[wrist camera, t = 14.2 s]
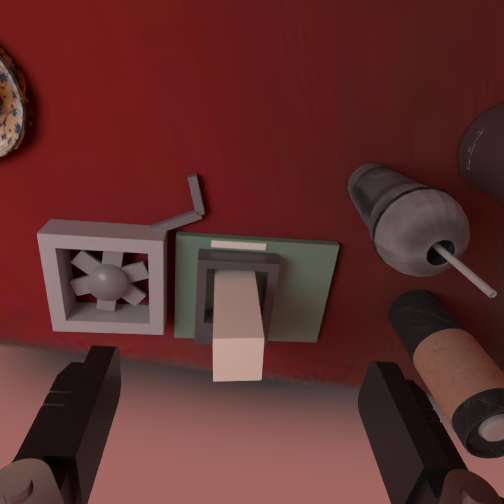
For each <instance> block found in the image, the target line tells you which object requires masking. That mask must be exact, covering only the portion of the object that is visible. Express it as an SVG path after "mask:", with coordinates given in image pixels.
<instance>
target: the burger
mask: <svg viewBox="0 0 504 504" xmlns="http://www.w3.org/2000/svg"><path fill="white" fill-rule="evenodd" d="M25 90H26V82H25V78H24V75H23V74H22V72H21V71H20V69H18V68H17V66H16V63H15V61H14V60H13V59H11V58H10V57H8V56H7V55H6V53H4V51H3V50H2V48H0V157H3V156H6V155H8V153H9V152H11V151H12V150H14V149H17V148H18V147H19V145H20V144H21V143H22V140H23V137H24V135H25V132H26V130H27V129H28V128H29V127H30V126H31V125H32V124H33V123H31V122H29V121H28V120H29V119H30V117H31V116H32V115H34V113H32V109H31V107H30V104H29V103H28V102H31V101H29V100H28V99H27V98H26V96H25Z"/></svg>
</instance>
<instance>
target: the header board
mask: <svg viewBox="0 0 504 504" xmlns="http://www.w3.org/2000/svg"><path fill="white" fill-rule="evenodd" d="M338 250H339V244H338V242H334V241H318V240H302V239H287V238H271V237H256V236H240V235H225V234H209V233H194V232H178V231H177V233H176V260H175V327H174V338H194V344H211V345H213V315H214V280H215V269H224V270H242V271H255V277H256V284H257V291H258V298H259V305H260V312H261V318H262V325H263V332H264V346H267V342H268V341H288V342H317V339H318V335H319V330H320V326H321V322H322V318H323V313H324V309H325V305H326V301H327V296H328V292H329V288H330V284H331V279H332V275H333V271H334V267H335V262H336V258H337V254H338Z"/></svg>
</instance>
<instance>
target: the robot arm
mask: <svg viewBox="0 0 504 504" xmlns="http://www.w3.org/2000/svg"><path fill="white" fill-rule="evenodd" d="M458 166H459V171H460V173H461V175H462V177H463V179H464V180H465V181H466V182H467V183H468V184H469V185H471V186H472V187H474V188H475V189H477V190H479V191H481V192H482V193H484V194H486V195H488V196H489V197H491V198H492V199H494V200H496V201H498V202H499V203H501V204H503V205H504V103H502V104H499V105H496V106H495V107H493V108H491V109H489V110H487V111H486V112H485V113H483V114H482V115H481V116H480V117H478V119H477V120H476V121H475V122H474V123H473V124H472V125H471V126H470V128H469V129H468V131H467V132H466V134H465V136H464V138H463V140H462V142H461V145H460V149H459V153H458ZM120 389H121V373H120V353H119V347H114V346H96V345H93V346H92V347H91V349H90V351H89V353H88V355H87V357H86V360H85V362H84V363H79V362H71V363H70V364H69V365H68V366H67V367H66V368H65V369H64V370H63V371H62V372H60V373H59V374H58V375H57V377H56V379H55V381H54V383H53V385H52V387H51V389H50V392H49V394H48V395H47V397H46V399H45V401H44V403H43V406H42V407H41V408H40V410H39V412H38V414H37V416H36V418H35V420H34V422H33V424H32V426H31V428H30V430H29V432H28V434H27V436H26V438H25V440H24V442H23V444H22V445H21V447H20V449H19V451H18V454H17V455H16V457H15V458H14V460H13V461H12V463H10V464H9V465H7V466H5V467H4V468H2V469H1V470H0V504H87V503H88V500H89V497H90V493H91V490H92V487H93V484H94V481H95V477H96V474H97V470H98V467H99V464H100V461H101V458H102V454H103V451H104V447H105V444H106V441H107V438H108V435H109V431H110V428H111V425H112V421H113V418H114V415H115V412H116V408H117V405H118V402H119V397H120ZM358 408H359V413H360V416H361V419H362V422H363V425H364V428H365V430H366V433H367V436H368V439H369V442H370V445H371V448H372V450H373V453H374V456H375V459H376V462H377V464H378V467H379V470H380V473H381V476H382V479H383V482H384V484H385V487H386V490H387V493H388V496H389V498H390V501H391V504H504V498H502V497H500V496H499V495H498V494H497V492H496V491H495V489H494V488H493V487H492V486H491V485H490V484H489V483H488V482H487V481H486V480H484V479H483V478H482V477H480V476H479V475H477V474H475V473H473V472H471V471H469V470H468V469H467V467H466V465H465V463H464V462H463V460H462V458H461V456H460V454H459V453H458V451H457V449H456V447H455V445H454V444H453V442H452V440H451V438H450V437H449V435H448V433H447V431H446V429H445V428H444V426H443V424H442V423H440V419H439V417H438V415H437V413H436V411H434V410H433V406H432V404H431V403H430V401H429V399H428V397H427V395H426V394H425V392H424V391H423V390H422V389H421V388H420V387H419V386H418V385H417V384H416V383H415V382H414V381H413V380H406V379H405V377H404V375H403V373H402V372H401V370H400V368H399V366H398V365H397V364H396V363H394V362H377V361H372V362H371V363H370V364H369V367H368V369H367V372H366V375H365V378H364V381H363V384H362V386H361V389H360V392H359V396H358Z"/></svg>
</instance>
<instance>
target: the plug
mask: <svg viewBox="0 0 504 504" xmlns="http://www.w3.org/2000/svg"><path fill="white" fill-rule="evenodd" d="M263 350H264V332H263V325H262V318H261V312H260V305H259V298H258V291H257V284H256V277H255V271H242V270H224V269H215V280H214V315H213V381H244V380H245V381H247V380H261V378H262V364H263Z"/></svg>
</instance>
